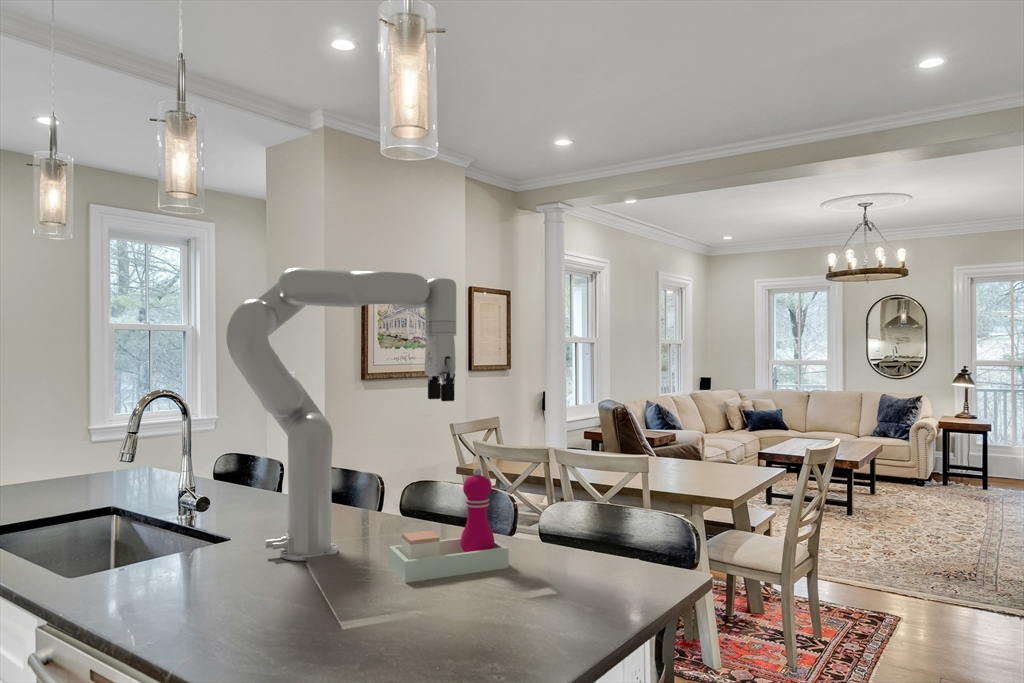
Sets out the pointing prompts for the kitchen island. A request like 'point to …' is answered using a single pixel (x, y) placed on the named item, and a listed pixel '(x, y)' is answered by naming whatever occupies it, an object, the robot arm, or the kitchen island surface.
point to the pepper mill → (477, 514)
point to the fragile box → (420, 545)
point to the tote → (448, 561)
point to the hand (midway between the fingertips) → (440, 400)
